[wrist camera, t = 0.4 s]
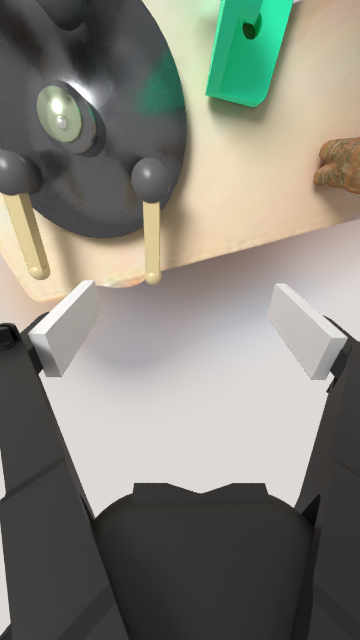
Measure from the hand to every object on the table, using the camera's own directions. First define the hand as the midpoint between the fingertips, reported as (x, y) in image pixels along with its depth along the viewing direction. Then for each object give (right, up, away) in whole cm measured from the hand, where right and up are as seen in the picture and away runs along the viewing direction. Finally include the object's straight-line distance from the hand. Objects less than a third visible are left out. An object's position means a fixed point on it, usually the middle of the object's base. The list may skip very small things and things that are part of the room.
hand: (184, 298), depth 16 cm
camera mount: (+8, +33, +10) cm, 36 cm away
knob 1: (-24, +15, +19) cm, 33 cm away
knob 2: (-5, +14, +19) cm, 24 cm away
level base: (-14, +25, +15) cm, 32 cm away
